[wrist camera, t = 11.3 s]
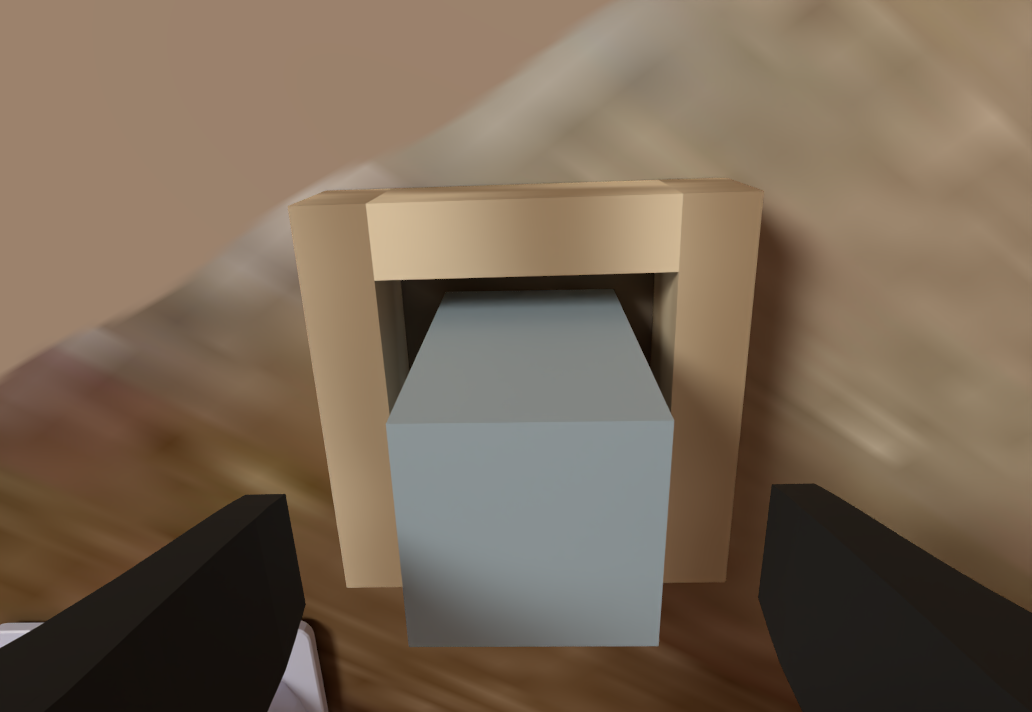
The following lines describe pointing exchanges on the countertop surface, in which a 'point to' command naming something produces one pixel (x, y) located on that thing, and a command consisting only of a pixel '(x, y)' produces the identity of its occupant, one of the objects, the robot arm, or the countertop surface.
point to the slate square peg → (531, 475)
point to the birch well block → (532, 252)
